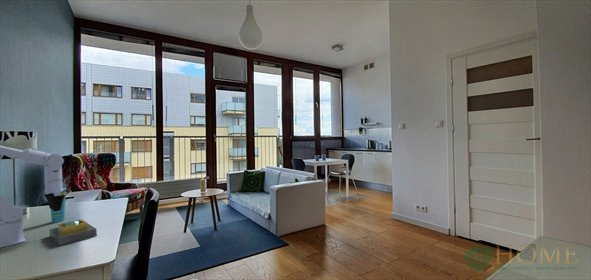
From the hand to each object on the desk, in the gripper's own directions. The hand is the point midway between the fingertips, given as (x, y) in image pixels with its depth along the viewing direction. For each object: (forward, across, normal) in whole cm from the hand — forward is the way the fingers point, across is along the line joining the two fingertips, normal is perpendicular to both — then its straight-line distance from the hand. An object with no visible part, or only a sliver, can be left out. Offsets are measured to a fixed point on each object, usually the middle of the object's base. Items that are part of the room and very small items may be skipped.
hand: (55, 209), depth 115 cm
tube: (+10, +20, -4) cm, 23 cm away
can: (+10, -15, -3) cm, 18 cm away
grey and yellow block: (+10, -15, -3) cm, 18 cm away
